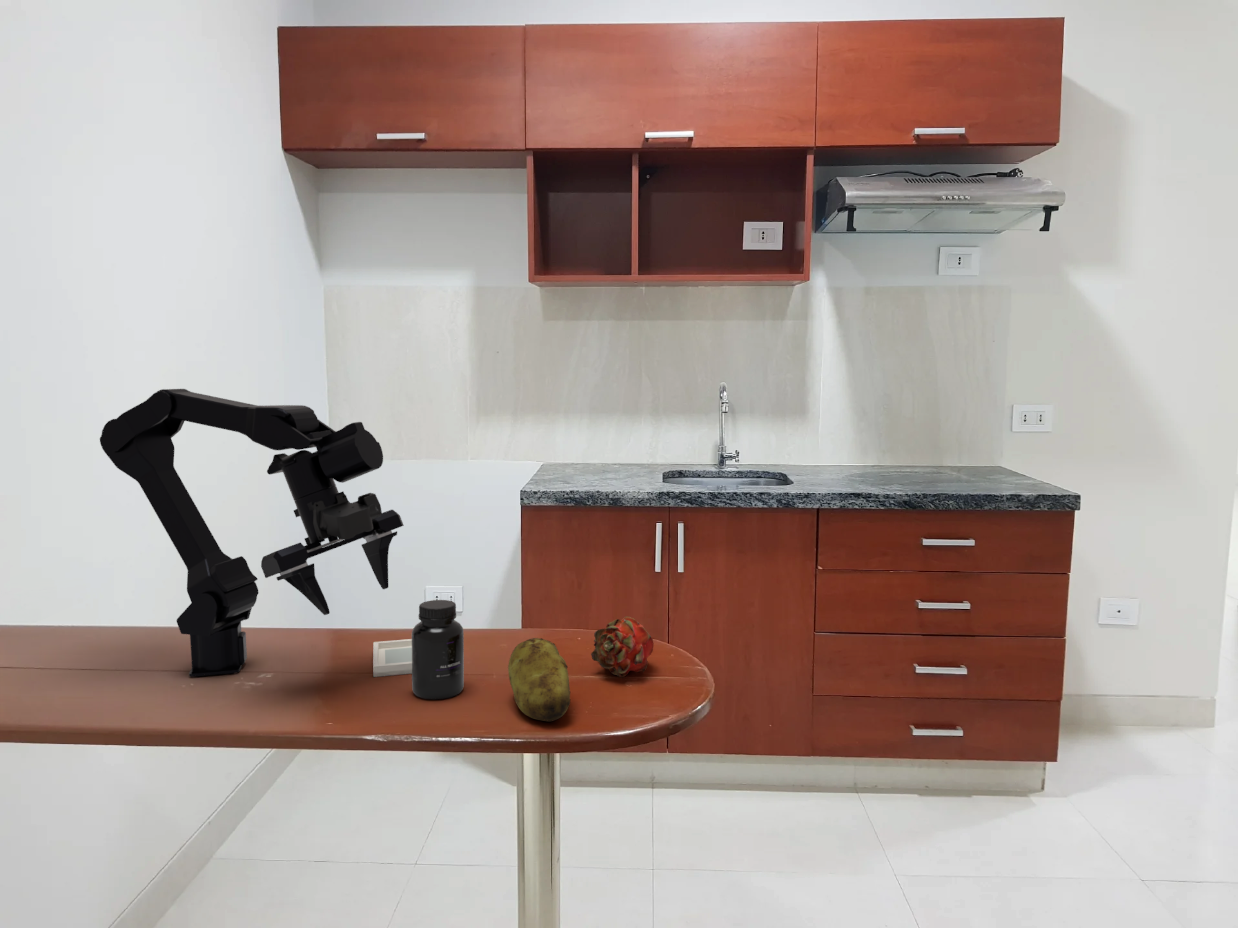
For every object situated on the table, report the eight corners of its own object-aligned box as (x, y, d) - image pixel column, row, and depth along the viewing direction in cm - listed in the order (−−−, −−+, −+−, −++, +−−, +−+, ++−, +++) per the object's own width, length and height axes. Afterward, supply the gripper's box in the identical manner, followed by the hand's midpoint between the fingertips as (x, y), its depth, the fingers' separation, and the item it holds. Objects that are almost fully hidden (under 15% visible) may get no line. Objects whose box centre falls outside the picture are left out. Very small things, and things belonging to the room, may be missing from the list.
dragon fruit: (610, 698, 115) (622, 679, 127) (661, 664, 115) (669, 648, 126) (575, 646, 116) (590, 632, 128) (626, 611, 115) (636, 600, 127)
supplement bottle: (452, 703, 110) (450, 613, 108) (403, 698, 111) (401, 609, 110) (472, 683, 117) (470, 598, 115) (425, 679, 118) (423, 595, 116)
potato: (500, 729, 102) (500, 665, 101) (511, 688, 115) (510, 631, 114) (570, 729, 102) (569, 665, 101) (573, 688, 115) (572, 631, 114)
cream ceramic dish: (373, 676, 119) (373, 666, 119) (373, 651, 129) (373, 642, 129) (452, 669, 122) (452, 659, 122) (446, 645, 132) (446, 636, 132)
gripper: (274, 501, 103) (321, 621, 103) (402, 461, 116) (443, 567, 116) (240, 519, 110) (284, 631, 111) (364, 480, 124) (402, 579, 124)
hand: (357, 601), depth 115 cm, fingers open, 9 cm apart
